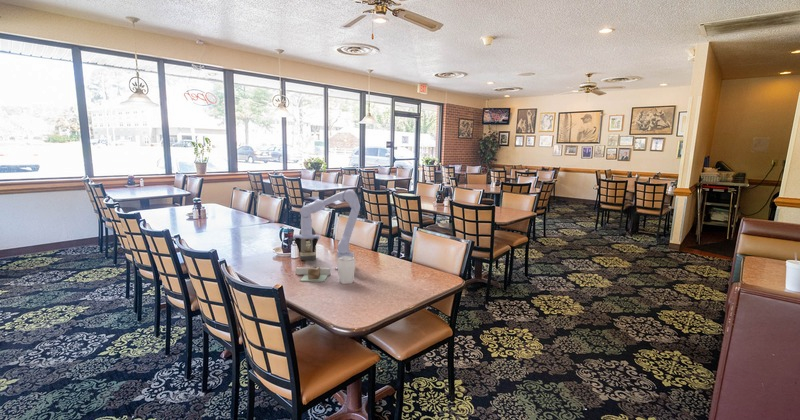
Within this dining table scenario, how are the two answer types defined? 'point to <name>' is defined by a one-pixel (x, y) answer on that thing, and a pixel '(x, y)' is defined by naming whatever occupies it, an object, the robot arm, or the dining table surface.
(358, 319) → the dining table surface
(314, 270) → the walnut cube
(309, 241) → the liquor
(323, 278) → the sage mat
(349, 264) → the cup
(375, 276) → the dining table surface
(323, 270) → the grey screen
